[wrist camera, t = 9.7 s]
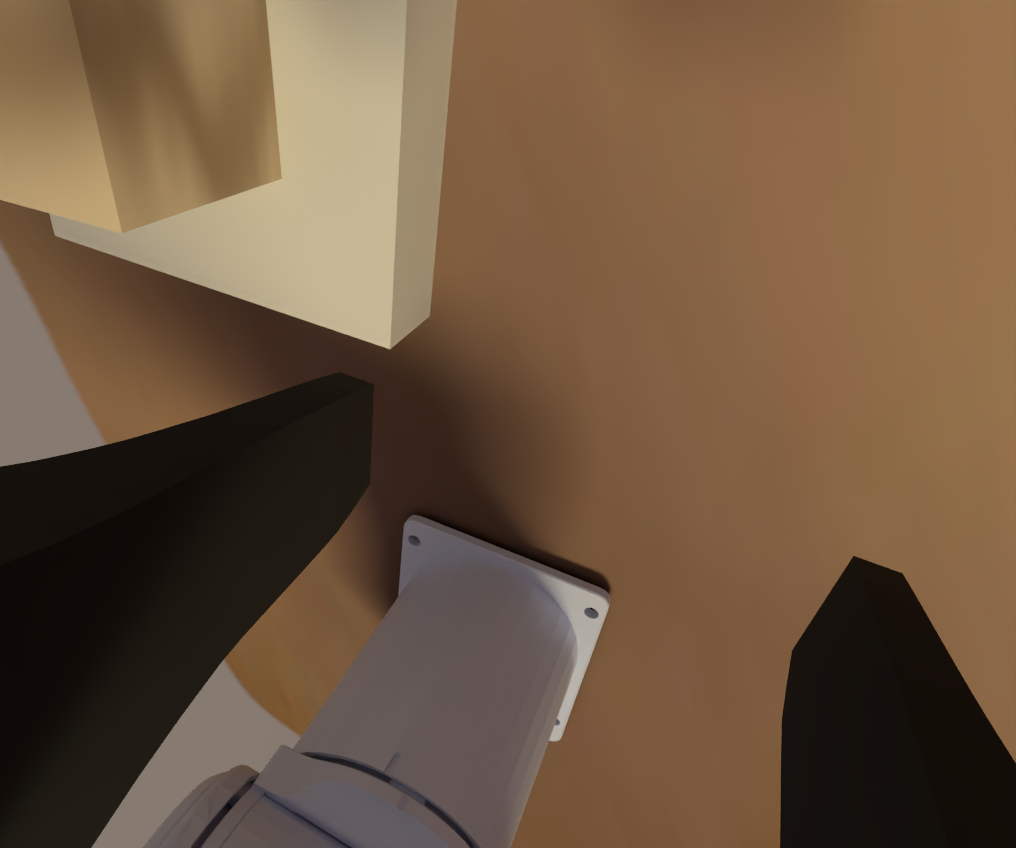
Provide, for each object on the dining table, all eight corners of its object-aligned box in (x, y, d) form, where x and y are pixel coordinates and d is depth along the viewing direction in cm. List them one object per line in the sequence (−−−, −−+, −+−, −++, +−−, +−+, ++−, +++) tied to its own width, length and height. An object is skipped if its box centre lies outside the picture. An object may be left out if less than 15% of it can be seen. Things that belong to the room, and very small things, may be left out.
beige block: (437, 309, 21) (389, 349, 19) (130, 211, 24) (55, 235, 21) (485, -207, 14) (419, -248, 12) (42, -266, 17) (-85, -308, 14)
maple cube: (281, 179, 17) (121, 232, 13) (126, 143, 18) (-61, 183, 14) (260, -62, 14) (50, -84, 10) (79, -86, 16) (-170, -113, 12)
